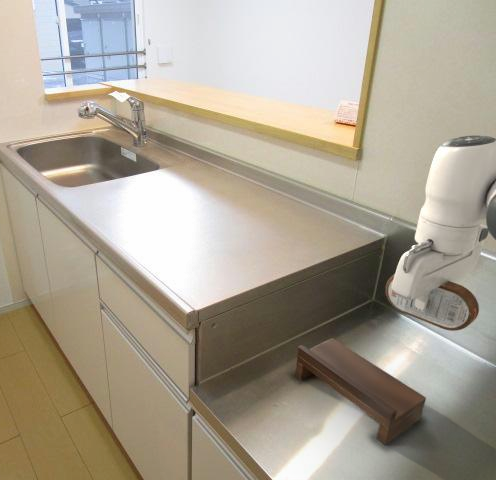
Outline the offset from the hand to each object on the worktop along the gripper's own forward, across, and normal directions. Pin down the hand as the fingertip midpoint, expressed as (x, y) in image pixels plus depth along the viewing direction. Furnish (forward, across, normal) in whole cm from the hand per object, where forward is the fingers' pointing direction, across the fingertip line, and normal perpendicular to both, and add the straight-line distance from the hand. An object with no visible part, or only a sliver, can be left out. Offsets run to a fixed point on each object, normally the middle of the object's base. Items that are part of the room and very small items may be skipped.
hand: (428, 304), depth 81 cm
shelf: (+17, -13, +3) cm, 22 cm away
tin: (+3, 0, 0) cm, 3 cm away
